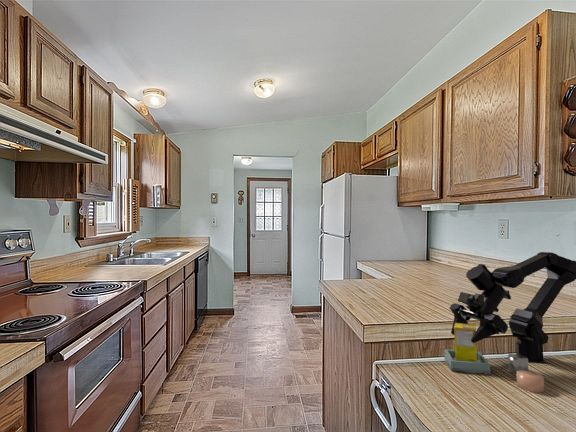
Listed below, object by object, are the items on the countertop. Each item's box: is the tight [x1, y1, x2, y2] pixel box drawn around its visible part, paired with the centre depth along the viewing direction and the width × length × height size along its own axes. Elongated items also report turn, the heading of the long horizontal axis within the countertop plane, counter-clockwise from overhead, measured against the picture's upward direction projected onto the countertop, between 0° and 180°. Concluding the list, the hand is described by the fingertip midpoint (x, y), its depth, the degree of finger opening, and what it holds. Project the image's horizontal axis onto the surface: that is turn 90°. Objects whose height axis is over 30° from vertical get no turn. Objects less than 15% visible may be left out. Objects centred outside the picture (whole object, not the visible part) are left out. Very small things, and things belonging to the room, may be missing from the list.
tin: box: [507, 353, 530, 376], centre depth 101 cm, size 5×5×4 cm
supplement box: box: [453, 323, 478, 362], centre depth 106 cm, size 6×6×11 cm
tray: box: [444, 348, 491, 375], centre depth 105 cm, size 11×11×3 cm
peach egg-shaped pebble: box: [516, 370, 545, 394], centre depth 90 cm, size 6×6×4 cm
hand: (461, 337), depth 105 cm, fingers open, 8 cm apart
